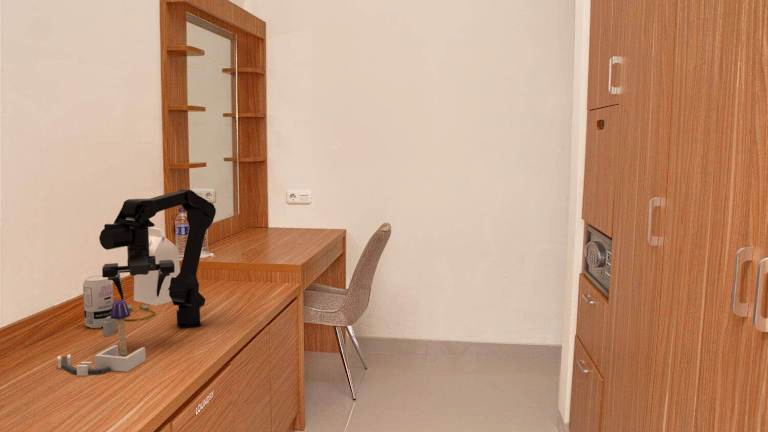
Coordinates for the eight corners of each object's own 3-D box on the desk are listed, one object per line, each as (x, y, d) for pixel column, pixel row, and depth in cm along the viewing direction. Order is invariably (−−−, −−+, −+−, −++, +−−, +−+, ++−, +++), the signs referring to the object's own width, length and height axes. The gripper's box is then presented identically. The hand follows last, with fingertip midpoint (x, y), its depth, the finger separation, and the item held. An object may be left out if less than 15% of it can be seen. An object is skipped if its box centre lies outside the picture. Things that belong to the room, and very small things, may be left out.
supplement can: (91, 321, 191) (88, 275, 189) (118, 320, 191) (116, 275, 190) (80, 329, 183) (78, 281, 181) (108, 329, 183) (106, 281, 181)
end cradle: (115, 357, 160) (114, 344, 160) (145, 360, 158) (145, 347, 158) (95, 368, 152) (94, 355, 152) (127, 371, 151) (126, 358, 150)
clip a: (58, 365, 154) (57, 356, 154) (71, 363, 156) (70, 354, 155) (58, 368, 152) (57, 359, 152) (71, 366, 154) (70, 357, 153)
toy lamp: (114, 368, 153) (111, 304, 151) (111, 362, 157) (108, 300, 155) (134, 364, 156) (131, 302, 153) (130, 359, 159) (128, 297, 157)
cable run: (65, 359, 158) (65, 355, 158) (111, 371, 151) (111, 367, 151) (45, 366, 153) (45, 362, 153) (92, 379, 146) (91, 375, 146)
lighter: (108, 336, 177) (107, 310, 176) (103, 336, 177) (101, 309, 176) (122, 328, 184) (121, 303, 183) (117, 328, 184) (116, 303, 183)
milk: (182, 298, 219) (180, 228, 215) (156, 305, 209) (153, 232, 206) (160, 293, 225) (157, 225, 221) (133, 300, 215) (130, 229, 212)
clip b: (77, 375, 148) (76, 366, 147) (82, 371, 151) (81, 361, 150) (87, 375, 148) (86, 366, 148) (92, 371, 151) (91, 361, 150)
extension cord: (165, 308, 207) (164, 303, 207) (147, 322, 191) (147, 316, 191) (129, 308, 207) (129, 302, 207) (109, 322, 191) (109, 316, 191)
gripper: (100, 251, 158) (102, 308, 160) (174, 247, 165) (176, 302, 167) (102, 244, 168) (104, 298, 170) (172, 240, 175) (174, 292, 177)
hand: (140, 298), depth 171 cm, fingers open, 9 cm apart
